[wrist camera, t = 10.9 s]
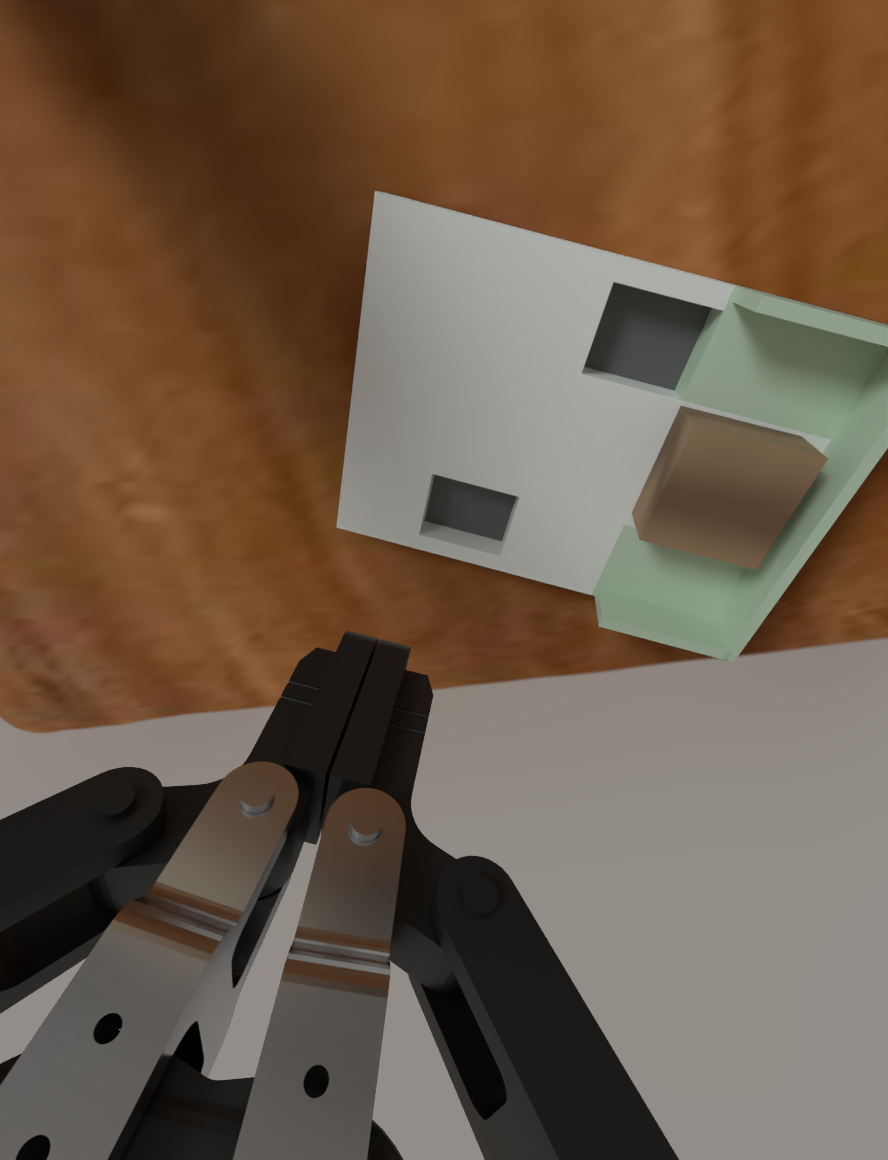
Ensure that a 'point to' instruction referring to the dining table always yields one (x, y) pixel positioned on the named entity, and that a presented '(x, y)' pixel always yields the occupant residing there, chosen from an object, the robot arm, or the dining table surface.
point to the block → (724, 487)
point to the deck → (587, 413)
